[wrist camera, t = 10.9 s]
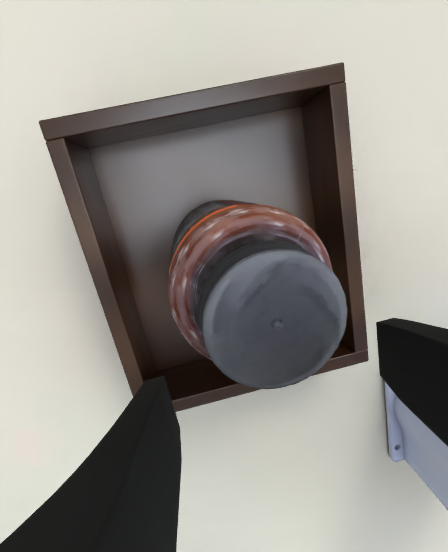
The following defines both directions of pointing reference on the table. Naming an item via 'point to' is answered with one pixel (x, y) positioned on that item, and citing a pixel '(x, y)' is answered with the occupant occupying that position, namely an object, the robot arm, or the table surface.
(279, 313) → the supplement bottle
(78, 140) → the crate
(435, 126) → the table surface
